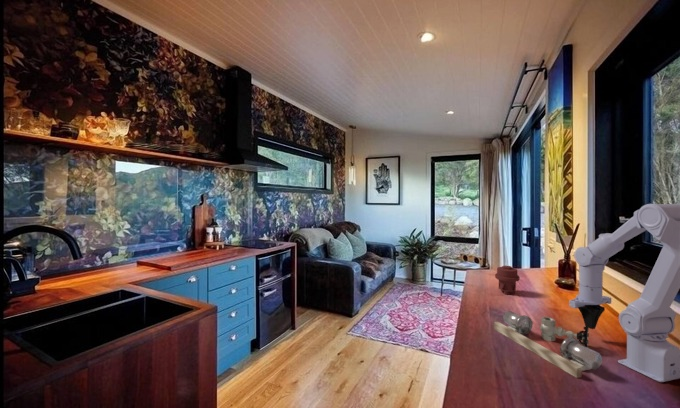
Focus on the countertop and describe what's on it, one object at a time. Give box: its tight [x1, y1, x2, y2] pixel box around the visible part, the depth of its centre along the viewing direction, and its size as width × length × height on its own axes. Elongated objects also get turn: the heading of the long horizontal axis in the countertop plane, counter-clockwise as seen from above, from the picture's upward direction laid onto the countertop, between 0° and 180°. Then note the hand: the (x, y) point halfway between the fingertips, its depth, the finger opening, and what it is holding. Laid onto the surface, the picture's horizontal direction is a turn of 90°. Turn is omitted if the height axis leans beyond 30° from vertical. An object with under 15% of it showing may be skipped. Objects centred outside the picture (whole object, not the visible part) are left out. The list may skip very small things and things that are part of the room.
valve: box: [539, 316, 590, 348], centre depth 95 cm, size 7×7×12 cm
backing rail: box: [493, 321, 582, 379], centre depth 91 cm, size 29×2×2 cm, turn 13°
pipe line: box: [502, 310, 603, 372], centre depth 92 cm, size 29×6×6 cm, turn 13°
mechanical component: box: [494, 265, 521, 295], centre depth 142 cm, size 12×10×10 cm
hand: (590, 327), depth 96 cm, fingers closed
